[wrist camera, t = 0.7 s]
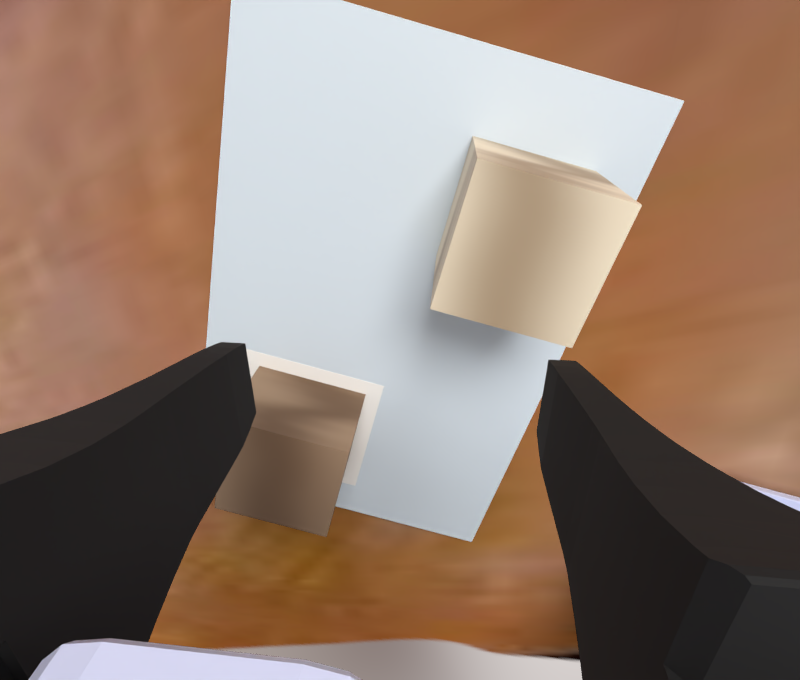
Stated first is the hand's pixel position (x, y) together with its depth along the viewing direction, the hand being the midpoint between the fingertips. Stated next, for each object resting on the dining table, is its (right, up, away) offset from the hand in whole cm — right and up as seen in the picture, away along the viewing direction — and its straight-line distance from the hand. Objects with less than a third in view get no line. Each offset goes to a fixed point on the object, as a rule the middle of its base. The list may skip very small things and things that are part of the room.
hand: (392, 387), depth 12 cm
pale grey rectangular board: (0, +2, +10) cm, 10 cm away
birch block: (+4, +6, +7) cm, 10 cm away
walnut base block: (-4, -3, +12) cm, 13 cm away
